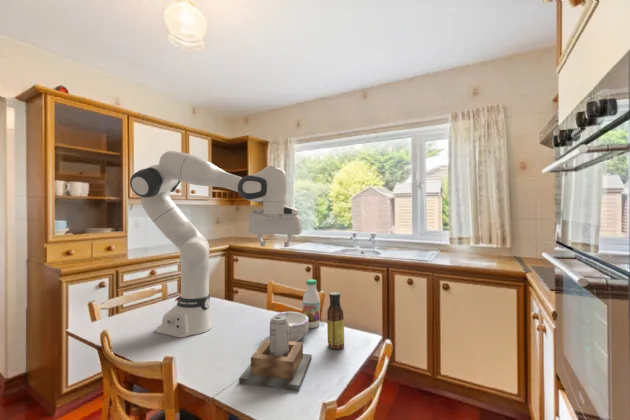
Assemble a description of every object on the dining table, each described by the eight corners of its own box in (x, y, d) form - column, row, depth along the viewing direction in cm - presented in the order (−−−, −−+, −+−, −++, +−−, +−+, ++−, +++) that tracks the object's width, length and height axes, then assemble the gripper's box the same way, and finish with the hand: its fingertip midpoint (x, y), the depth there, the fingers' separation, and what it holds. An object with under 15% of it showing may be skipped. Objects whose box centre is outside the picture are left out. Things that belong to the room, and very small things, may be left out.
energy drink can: (289, 369, 89) (289, 320, 89) (269, 370, 88) (269, 321, 88) (287, 359, 95) (288, 313, 95) (269, 360, 94) (269, 314, 94)
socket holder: (239, 383, 84) (239, 360, 84) (261, 353, 102) (261, 335, 102) (299, 390, 81) (299, 367, 81) (311, 358, 98) (311, 339, 98)
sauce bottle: (346, 344, 110) (346, 291, 110) (342, 351, 104) (342, 296, 104) (329, 341, 112) (330, 290, 112) (324, 348, 106) (325, 294, 106)
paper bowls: (303, 348, 106) (303, 326, 106) (264, 344, 109) (264, 323, 109) (312, 331, 121) (312, 312, 121) (277, 328, 124) (277, 309, 124)
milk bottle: (302, 322, 131) (302, 278, 132) (318, 321, 132) (319, 278, 132) (302, 329, 124) (303, 282, 124) (320, 328, 124) (321, 282, 125)
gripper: (245, 209, 108) (245, 246, 107) (299, 209, 104) (298, 248, 104) (252, 209, 114) (252, 244, 114) (302, 210, 110) (302, 246, 110)
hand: (274, 246), depth 109 cm, fingers open, 8 cm apart
